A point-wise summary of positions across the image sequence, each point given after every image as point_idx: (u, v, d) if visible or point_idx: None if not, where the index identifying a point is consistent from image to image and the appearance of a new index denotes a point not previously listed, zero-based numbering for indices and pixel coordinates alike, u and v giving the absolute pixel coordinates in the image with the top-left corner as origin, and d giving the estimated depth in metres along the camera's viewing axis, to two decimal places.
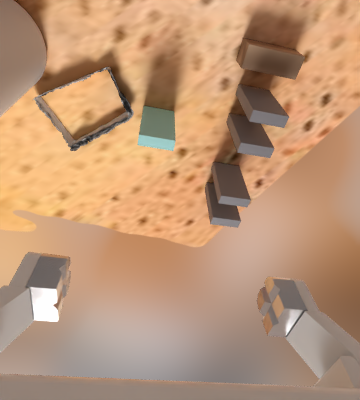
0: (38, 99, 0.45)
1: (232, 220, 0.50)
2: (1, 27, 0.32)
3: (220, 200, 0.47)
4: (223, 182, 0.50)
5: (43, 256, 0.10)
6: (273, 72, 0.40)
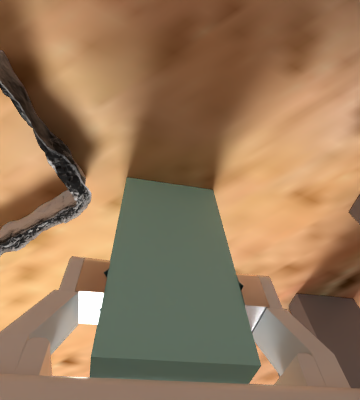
0: None
1: None
2: None
3: None
4: (350, 378, 0.18)
5: (87, 260, 0.11)
6: None
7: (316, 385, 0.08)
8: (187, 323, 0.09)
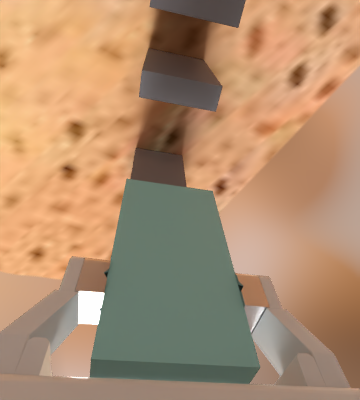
0: None
1: None
2: None
3: None
4: (141, 178, 0.26)
5: (87, 260, 0.11)
6: None
7: (316, 385, 0.08)
8: (187, 325, 0.10)
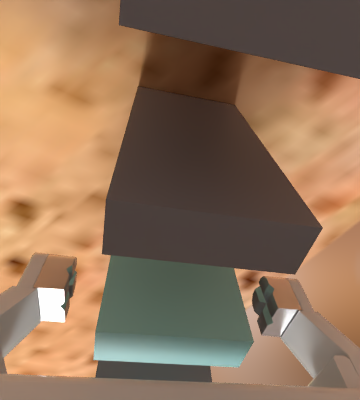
0: None
1: None
2: None
3: None
4: None
5: (50, 257, 0.10)
6: None
7: (355, 387, 0.09)
8: (185, 304, 0.10)
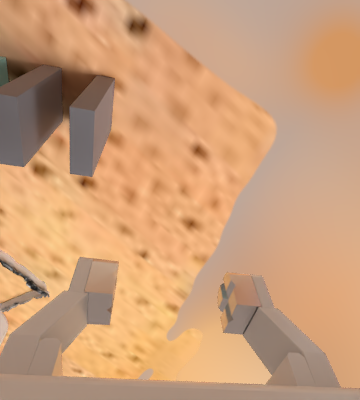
0: (2, 307, 0.44)
1: (72, 128, 0.20)
2: None
3: (14, 163, 0.21)
4: None
5: (95, 261, 0.11)
6: None
7: (306, 385, 0.08)
8: None
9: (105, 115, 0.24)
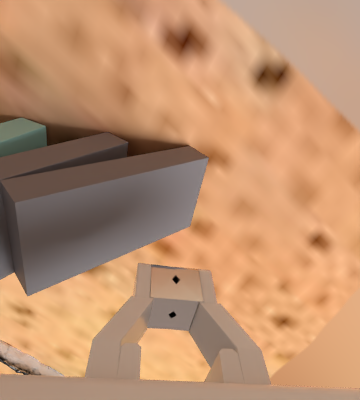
0: None
1: (7, 213, 0.12)
2: None
3: None
4: None
5: (154, 267, 0.11)
6: None
7: (233, 382, 0.08)
8: None
9: (133, 209, 0.14)
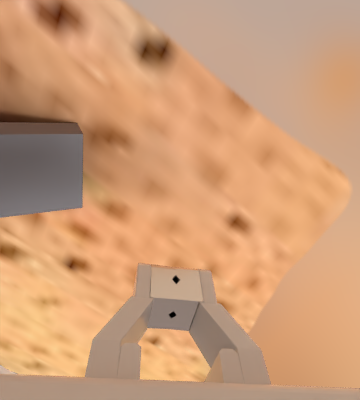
0: None
1: None
2: None
3: None
4: None
5: (154, 267, 0.11)
6: None
7: (233, 382, 0.08)
8: None
9: None
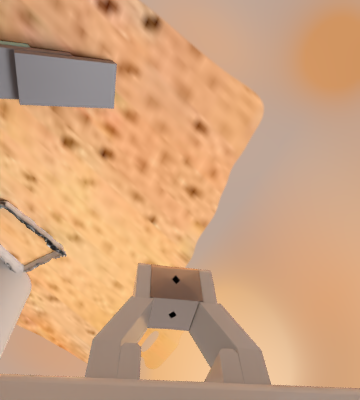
0: (25, 268, 0.51)
1: (15, 65, 0.30)
2: None
3: None
4: None
5: (154, 267, 0.11)
6: None
7: (233, 382, 0.08)
8: None
9: (71, 78, 0.31)
